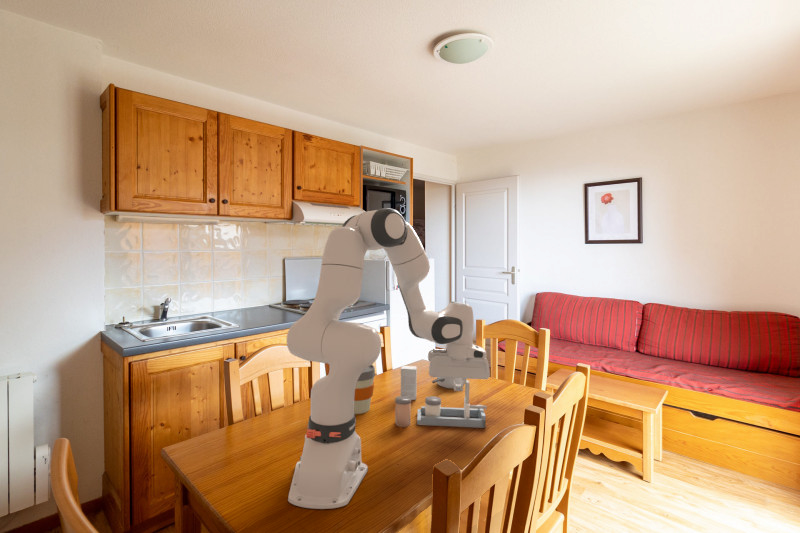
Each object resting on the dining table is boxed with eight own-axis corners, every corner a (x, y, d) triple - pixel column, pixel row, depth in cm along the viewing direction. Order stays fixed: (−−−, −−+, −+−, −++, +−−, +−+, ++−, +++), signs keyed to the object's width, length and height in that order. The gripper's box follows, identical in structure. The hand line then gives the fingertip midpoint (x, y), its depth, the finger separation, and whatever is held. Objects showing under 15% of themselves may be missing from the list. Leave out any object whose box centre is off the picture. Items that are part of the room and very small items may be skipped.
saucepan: (420, 391, 155) (420, 378, 155) (443, 378, 171) (444, 366, 171) (445, 398, 148) (446, 384, 148) (467, 384, 165) (467, 371, 165)
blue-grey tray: (485, 427, 124) (485, 415, 124) (417, 424, 126) (417, 412, 125) (481, 416, 133) (481, 404, 133) (417, 413, 135) (417, 401, 134)
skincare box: (416, 396, 150) (417, 366, 150) (415, 400, 146) (416, 369, 145) (401, 395, 151) (401, 365, 150) (400, 399, 146) (400, 368, 146)
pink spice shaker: (410, 427, 124) (410, 402, 123) (394, 426, 124) (394, 401, 124) (410, 420, 129) (411, 396, 128) (395, 419, 129) (395, 395, 129)
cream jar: (441, 423, 127) (441, 402, 127) (424, 422, 127) (425, 402, 127) (440, 416, 132) (440, 396, 132) (424, 415, 133) (425, 395, 132)
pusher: (487, 425, 126) (488, 385, 125) (465, 423, 126) (466, 384, 126) (484, 417, 132) (485, 379, 131) (463, 416, 132) (464, 378, 131)
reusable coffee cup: (357, 419, 129) (358, 375, 128) (332, 409, 136) (332, 368, 135) (381, 407, 139) (382, 366, 138) (356, 398, 146) (357, 360, 145)
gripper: (428, 351, 126) (427, 392, 126) (491, 353, 124) (490, 395, 125) (428, 346, 132) (427, 385, 132) (488, 348, 130) (486, 388, 131)
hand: (458, 390), depth 129 cm, fingers closed
